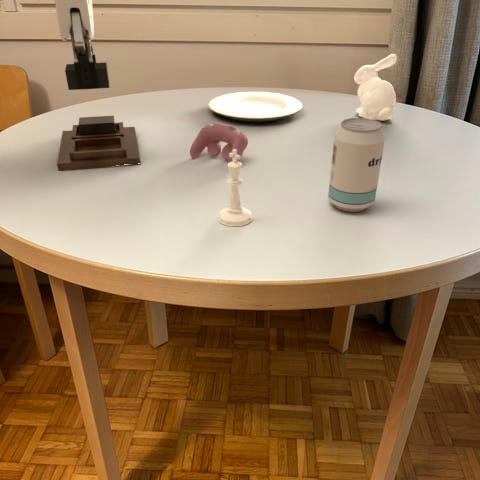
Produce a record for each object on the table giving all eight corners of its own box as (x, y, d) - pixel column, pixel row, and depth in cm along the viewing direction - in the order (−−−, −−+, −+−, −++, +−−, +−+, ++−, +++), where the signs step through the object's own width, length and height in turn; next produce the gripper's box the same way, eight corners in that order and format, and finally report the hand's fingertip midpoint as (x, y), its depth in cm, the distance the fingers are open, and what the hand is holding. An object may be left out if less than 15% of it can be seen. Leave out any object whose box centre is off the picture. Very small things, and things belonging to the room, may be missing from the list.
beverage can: (364, 219, 76) (378, 135, 69) (320, 208, 79) (328, 126, 71) (379, 201, 81) (393, 121, 74) (336, 192, 84) (346, 113, 76)
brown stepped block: (58, 170, 90) (53, 146, 88) (63, 137, 104) (59, 115, 102) (140, 164, 93) (138, 140, 90) (135, 132, 107) (132, 111, 104)
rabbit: (345, 110, 120) (352, 52, 113) (382, 106, 122) (391, 49, 115) (372, 126, 111) (382, 63, 103) (411, 122, 113) (423, 60, 106)
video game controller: (244, 171, 94) (254, 131, 93) (231, 167, 90) (241, 125, 89) (200, 160, 99) (209, 121, 97) (186, 155, 95) (195, 115, 93)
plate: (304, 101, 125) (304, 93, 124) (298, 129, 109) (299, 119, 108) (217, 98, 128) (217, 89, 127) (199, 124, 111) (199, 114, 110)
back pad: (68, 90, 86) (64, 70, 84) (69, 83, 89) (66, 64, 87) (109, 88, 87) (106, 68, 85) (109, 81, 90) (106, 62, 88)
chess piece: (233, 208, 79) (233, 141, 73) (259, 218, 76) (260, 149, 70) (210, 219, 76) (208, 150, 70) (236, 230, 73) (236, 159, 67)
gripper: (44, -52, 83) (68, 74, 94) (34, -46, 69) (62, 99, 81) (93, -52, 84) (111, 72, 95) (92, -47, 71) (112, 96, 82)
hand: (88, 83), depth 88 cm, fingers closed on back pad, 4 cm apart
